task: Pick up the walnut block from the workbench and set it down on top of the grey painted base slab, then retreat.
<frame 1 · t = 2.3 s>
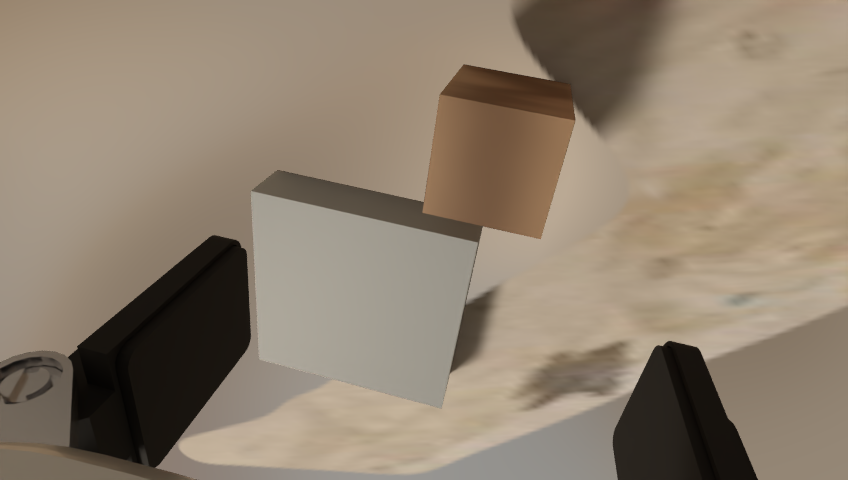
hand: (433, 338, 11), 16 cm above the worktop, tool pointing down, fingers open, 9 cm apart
walnut block: (504, 125, 25), on the worktop
base slab: (370, 279, 31), on the worktop
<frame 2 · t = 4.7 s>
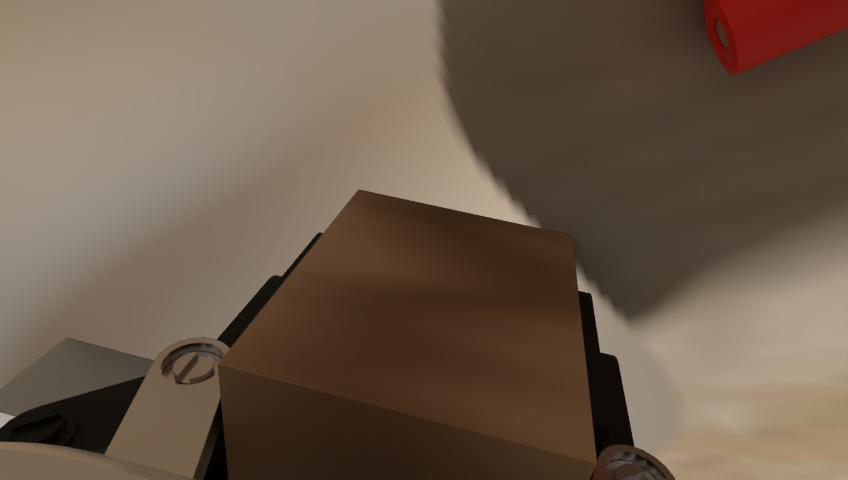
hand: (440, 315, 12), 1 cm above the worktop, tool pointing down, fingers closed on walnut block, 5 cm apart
walnut block: (445, 298, 13), on the worktop, touching gripper
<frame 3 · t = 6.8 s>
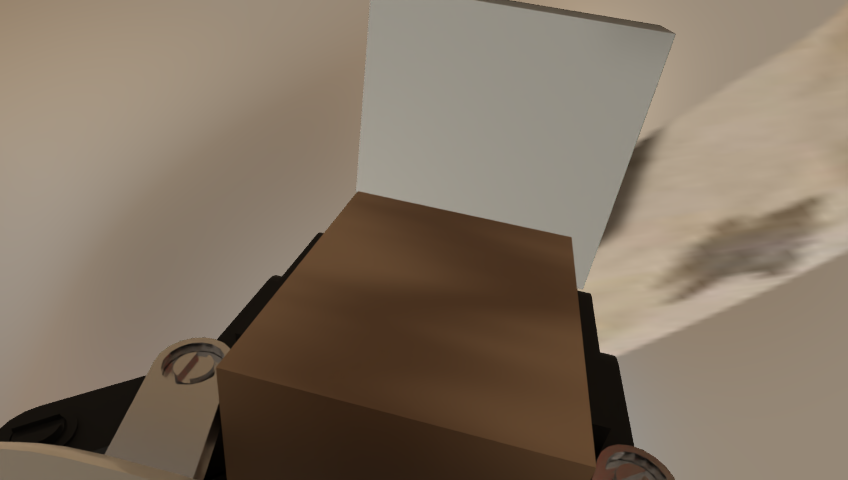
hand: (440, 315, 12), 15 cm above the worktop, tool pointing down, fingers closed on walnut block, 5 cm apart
walnut block: (445, 300, 13), point 15 cm above the worktop, touching gripper
base slab: (493, 132, 25), on the worktop
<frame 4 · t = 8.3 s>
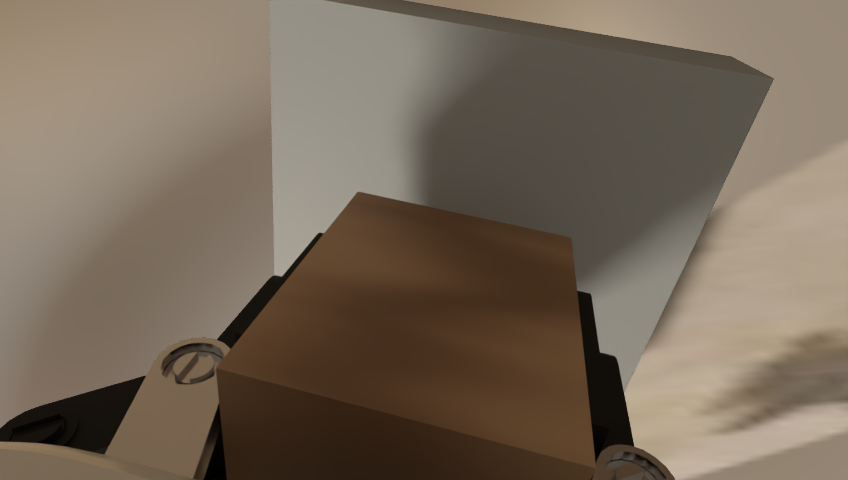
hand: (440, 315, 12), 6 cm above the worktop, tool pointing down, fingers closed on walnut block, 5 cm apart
walnut block: (445, 300, 13), point 6 cm above the worktop, touching gripper
base slab: (475, 205, 17), on the worktop
when the fingers open (5 cm above the worktop, at t = 9.4 s): walnut block drops 1 cm, resting on base slab.
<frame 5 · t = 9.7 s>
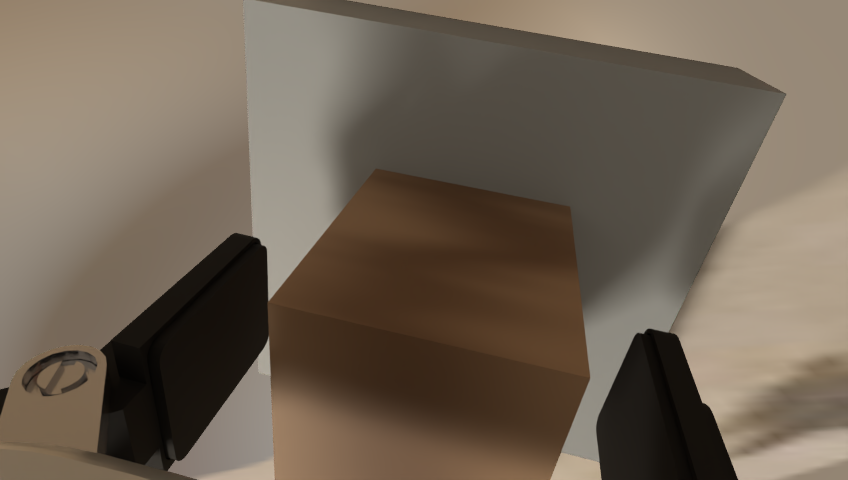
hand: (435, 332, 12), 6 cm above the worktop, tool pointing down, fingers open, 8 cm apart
walnut block: (455, 269, 14), point 3 cm above the worktop, touching base slab
base slab: (467, 222, 17), on the worktop
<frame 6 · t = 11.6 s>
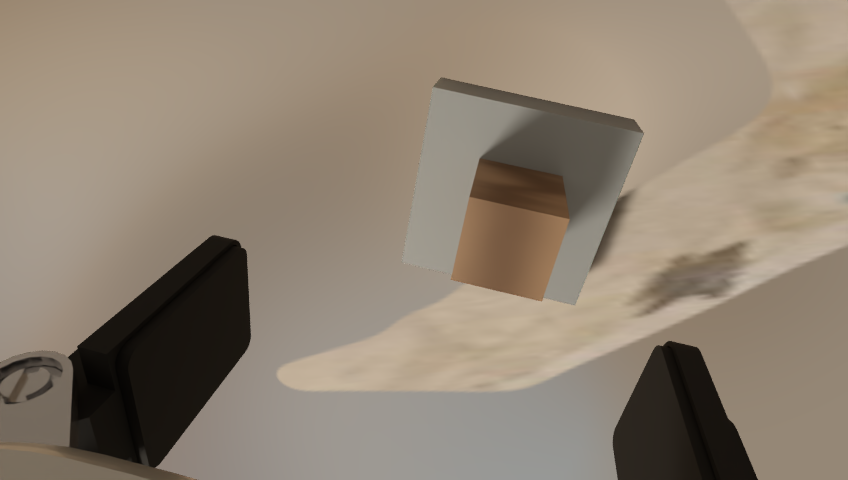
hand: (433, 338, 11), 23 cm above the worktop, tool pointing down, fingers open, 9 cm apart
walnut block: (510, 204, 31), point 3 cm above the worktop, touching base slab
base slab: (511, 187, 34), on the worktop
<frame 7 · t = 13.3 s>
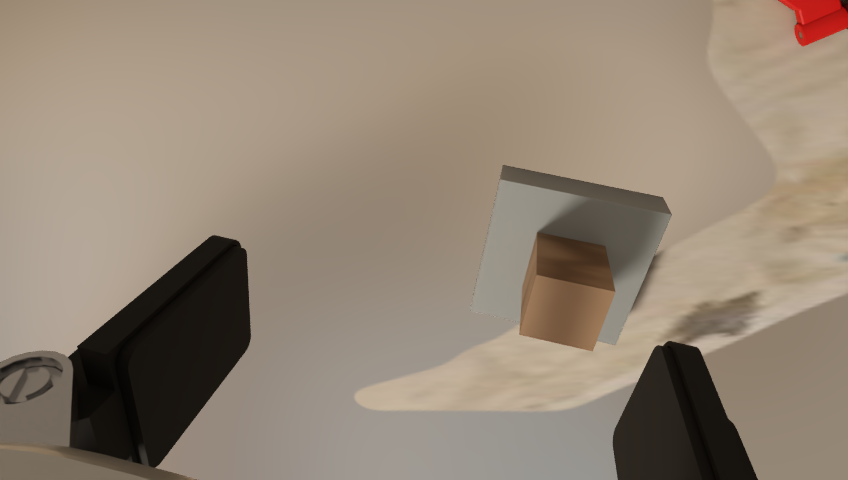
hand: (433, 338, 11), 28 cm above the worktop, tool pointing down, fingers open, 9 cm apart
walnut block: (562, 267, 38), point 3 cm above the worktop, touching base slab
base slab: (560, 248, 41), on the worktop
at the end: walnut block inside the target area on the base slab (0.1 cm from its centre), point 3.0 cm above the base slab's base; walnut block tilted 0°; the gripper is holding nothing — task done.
